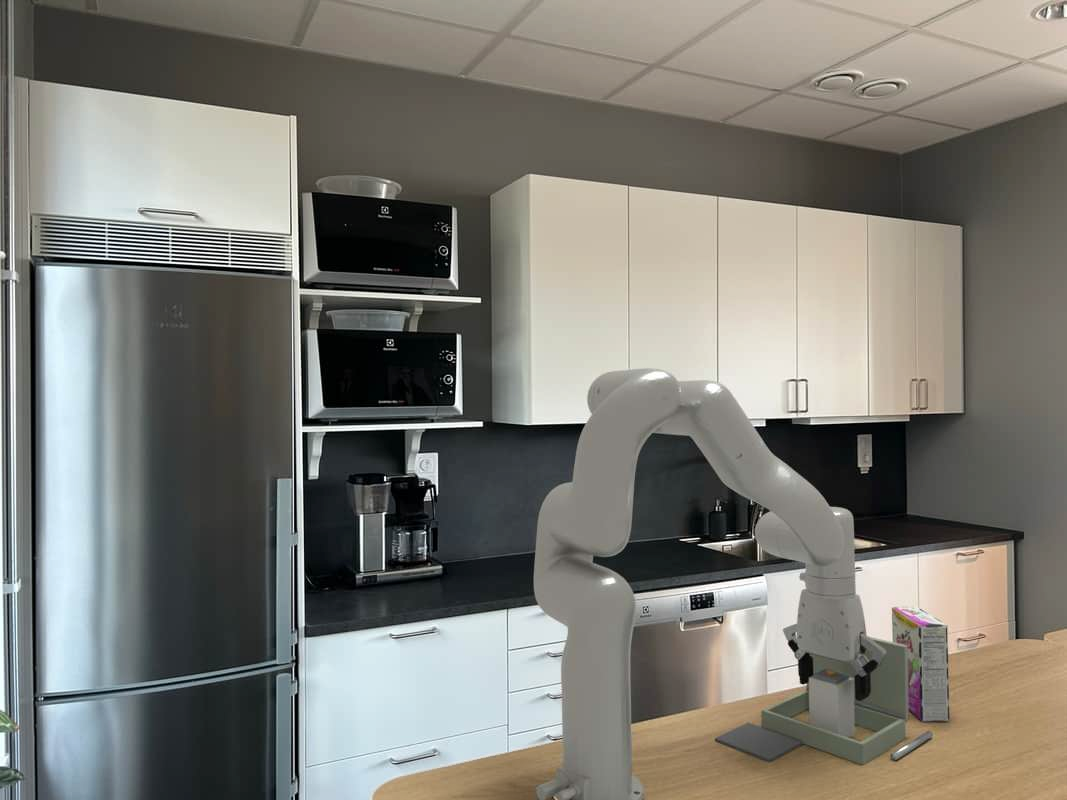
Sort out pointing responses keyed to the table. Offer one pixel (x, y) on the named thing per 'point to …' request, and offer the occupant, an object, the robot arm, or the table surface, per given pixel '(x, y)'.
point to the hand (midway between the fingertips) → (833, 690)
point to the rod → (911, 745)
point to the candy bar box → (924, 662)
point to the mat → (759, 741)
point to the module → (832, 702)
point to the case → (874, 712)
